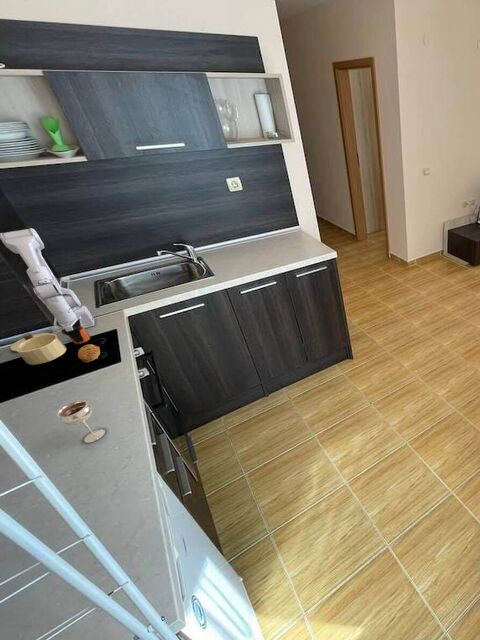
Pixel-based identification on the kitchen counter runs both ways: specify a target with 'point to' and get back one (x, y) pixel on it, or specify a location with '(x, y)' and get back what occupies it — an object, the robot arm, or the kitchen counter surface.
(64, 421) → the wineglass
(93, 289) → the kitchen counter surface
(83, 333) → the cup
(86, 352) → the pastry
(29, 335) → the pot lid
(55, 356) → the pot
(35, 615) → the kitchen counter surface
